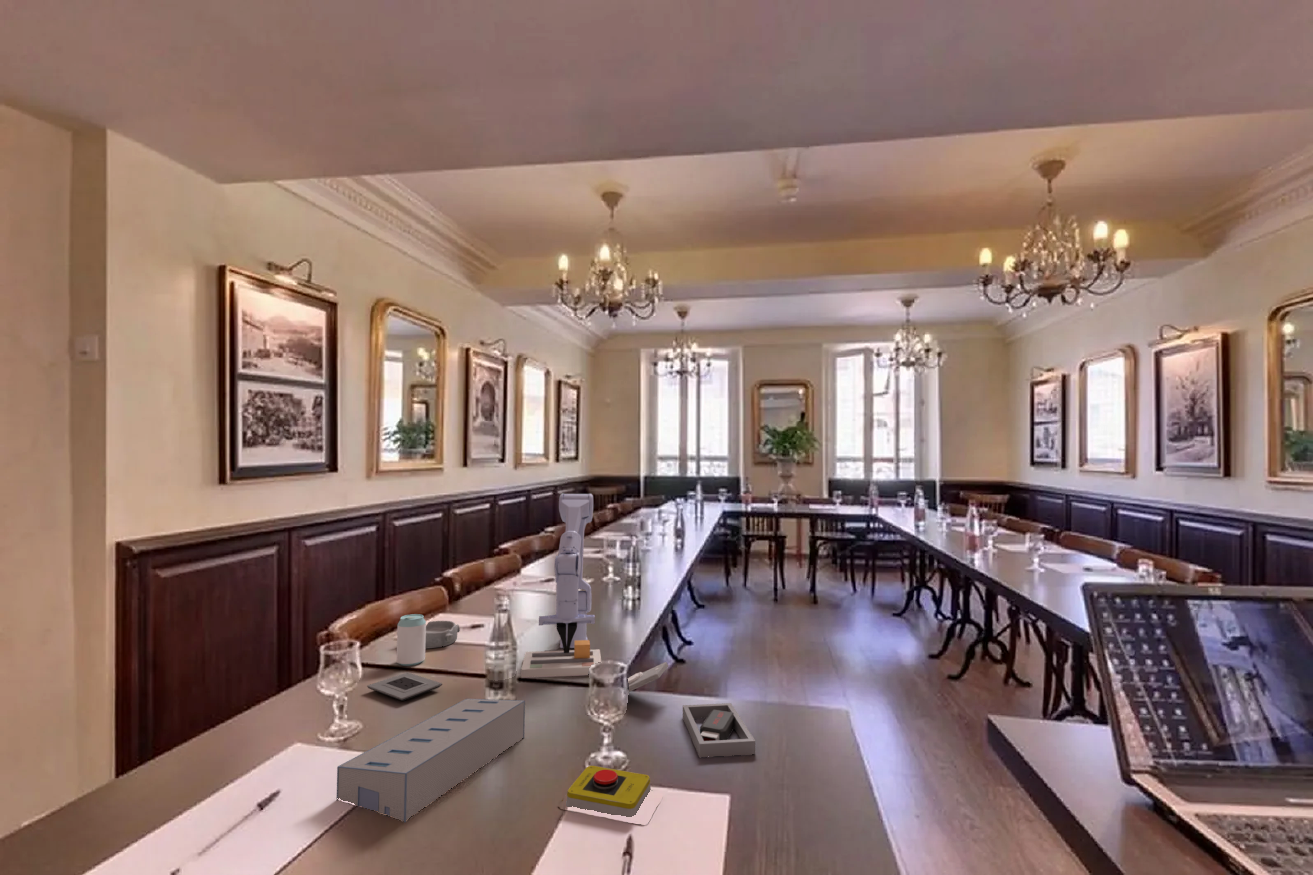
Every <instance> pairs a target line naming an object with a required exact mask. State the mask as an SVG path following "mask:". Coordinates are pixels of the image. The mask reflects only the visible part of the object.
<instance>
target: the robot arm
mask: <svg viewBox="0 0 1313 875" xmlns="http://www.w3.org/2000/svg"><path fill="white" fill-rule="evenodd" d="M558 500H559V501H558V511H559V515H560V518H561V520H562V523H563V522H564V523H565V531H564V533H562V534H561V536H560V539H559V547H558V554H557V555H556V556H555V558H554V575H555V576H554V577H555V581H554V582H555V583H556V589H555V590H556V592H555V593H556V595H555V600H556V601H555V614H550V615H549V614H548V615H540V616H538V626H540V627H541V626H545V625H546V626H547V625H556V631H557V634H558V635H559V637H560V638H559V639H560V641H559V648H560V649H562V650H563V651H564V653H569V650H571V649H574V641H575V640H588V636H587V627H588V626H587V625H588V624H591V625H595V623H596V621H595V620H596V616H595V614H588V613H590V612H591V611H592V605H593V604H592V600H593V596H592V595H593V593H592V587H591V584H590V583H588V582H587V581H586V580H584V579H583V578H584V577H583V575H584V573H583V572H584V549H585V548H584V544H585V543H584V542H585V540H584V539H585V529H586V526H587V524H589V523H591V522H593V518H594V517H593V513H594V495H593V494H592V493H563V492H562V493H560V495H559V499H558Z"/></svg>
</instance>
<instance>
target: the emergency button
mask: <svg viewBox="0 0 1313 875" xmlns="http://www.w3.org/2000/svg"><path fill="white" fill-rule="evenodd" d="M650 790H651V791H652V789H651V777H650V776H649V775H648V774H645V773H644V774H643V773H637V772H631V771H626V770H619V769H616V768H615V769H614V768H609V767H603V766H597V765H588V766H587V767H585V768H584V770H583V771H582V772H581V774H580V775H579V776H578V777H577V778H576V779H575V780H574V782H572V784H571V785H570V787H569V788H568V789H567V793H566V795H567V801H566V806H567V807H572V806H573V807H577V808H580V809H585V810H586V809H587V810H594V811H597V812H601V813H607V814H611V815H621V816H626V817H632V816H634V815H636V813H637V811H638V810H639V808H640V806H641V804H642V803H643V801H644V799H645V797H647V795H648V793H649V792H650Z"/></svg>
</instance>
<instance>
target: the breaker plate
mask: <svg viewBox="0 0 1313 875" xmlns="http://www.w3.org/2000/svg"><path fill="white" fill-rule="evenodd" d="M598 662H601V663H602V657H601V649H598V648H597V649H590V658H574V649H573V650H571V649H569V653H564V650H545V651H544V650H542V651H541V650H539V651H538V650H537V651H525V653H524V658H523V662H522V666H521V668H520V673H521V674H520V678H521V679H525V678H527V679H529V678H550V677H551V678H552V677H555V678H556V677H572V676H573V677H576V676H579V677H580V676H589V675H588V671H589V668H590V667H591V665H592V664H595V663H598Z"/></svg>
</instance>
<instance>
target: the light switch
mask: <svg viewBox="0 0 1313 875" xmlns="http://www.w3.org/2000/svg"><path fill="white" fill-rule="evenodd" d="M668 667H669V664H668V661H665V662H662V663H660V664H658V665H656V666H654V667H652V668H649V669H648V670H645V671H643V672H642V671H639V672H637V673H635V674H632V676H629V677H628V678H627V679H628V683H629V692H628V693H630V692H632V691H634V690H636V689H638V688H641V687H643V686H646V685H647V684H650V683H652V682H654V681H656V680H658V679H659V678H661V676H662V675H663V674H664V672H665V671H666V670H667V669H668ZM644 701H645V700H644Z"/></svg>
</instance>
